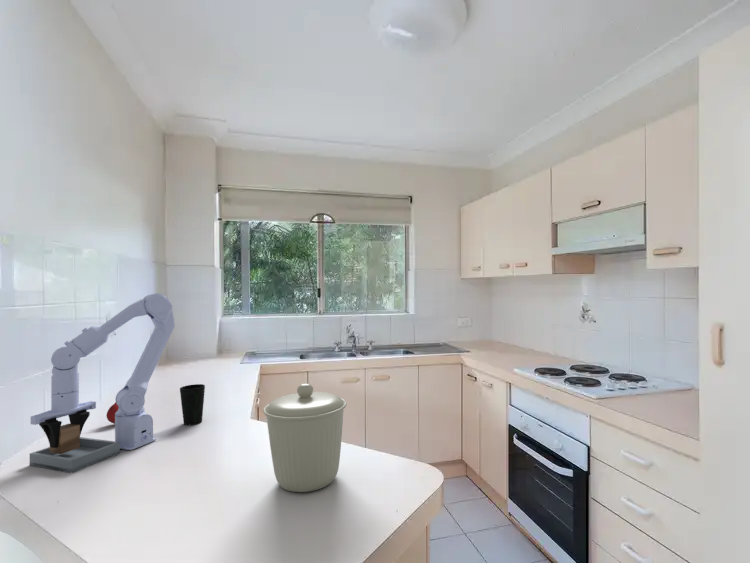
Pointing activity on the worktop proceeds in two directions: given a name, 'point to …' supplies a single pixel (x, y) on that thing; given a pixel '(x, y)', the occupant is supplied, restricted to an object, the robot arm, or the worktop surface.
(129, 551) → the worktop surface
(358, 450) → the worktop surface
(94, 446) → the tray
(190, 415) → the cup
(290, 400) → the canister
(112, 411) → the pomegranate
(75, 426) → the block
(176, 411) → the worktop surface
